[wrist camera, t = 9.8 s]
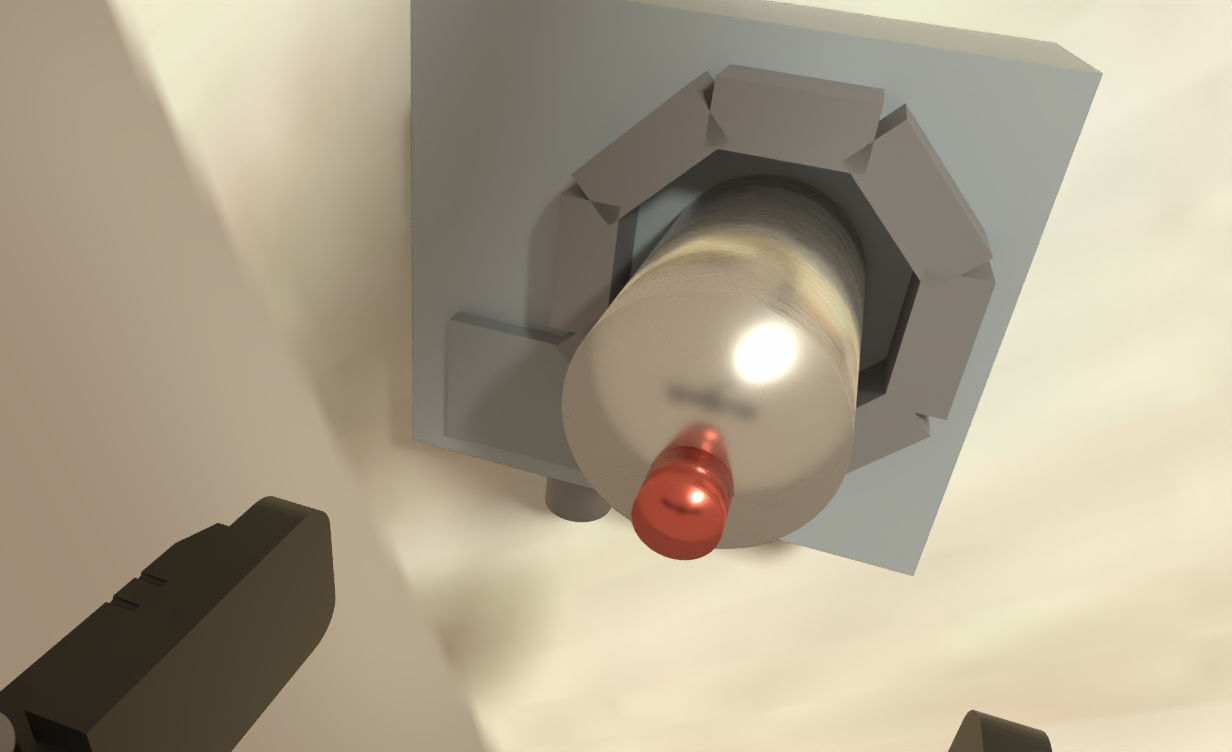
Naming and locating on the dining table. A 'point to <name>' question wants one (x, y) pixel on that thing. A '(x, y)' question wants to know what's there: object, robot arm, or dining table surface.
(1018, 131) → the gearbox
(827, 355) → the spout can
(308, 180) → the dining table surface
